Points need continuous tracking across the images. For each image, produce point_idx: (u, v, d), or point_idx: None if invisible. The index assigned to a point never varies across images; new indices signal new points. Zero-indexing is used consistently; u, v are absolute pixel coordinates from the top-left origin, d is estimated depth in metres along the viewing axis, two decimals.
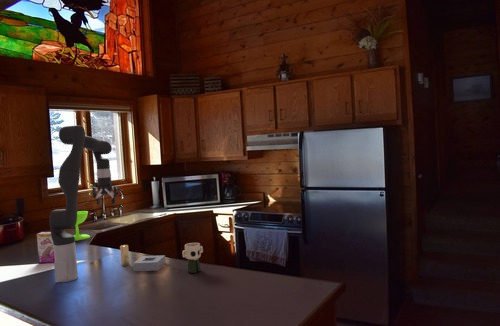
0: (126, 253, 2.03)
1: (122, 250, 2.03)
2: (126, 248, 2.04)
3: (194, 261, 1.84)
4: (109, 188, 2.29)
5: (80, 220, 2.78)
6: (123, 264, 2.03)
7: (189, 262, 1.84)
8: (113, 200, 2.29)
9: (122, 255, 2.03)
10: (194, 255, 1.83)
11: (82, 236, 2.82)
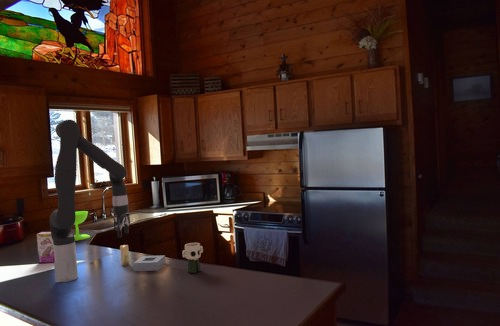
0: (126, 253, 2.03)
1: (122, 250, 2.03)
2: (126, 248, 2.04)
3: (194, 261, 1.84)
4: None
5: (80, 220, 2.78)
6: (123, 264, 2.03)
7: (189, 262, 1.84)
8: None
9: (122, 255, 2.03)
10: (194, 255, 1.83)
11: (82, 236, 2.82)
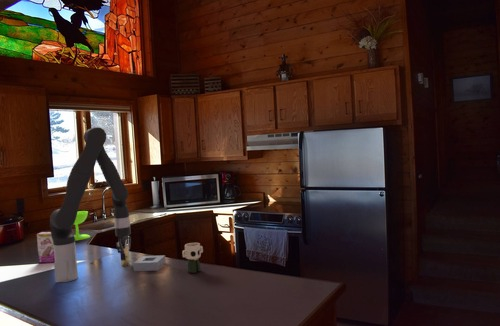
0: (126, 253, 2.03)
1: None
2: (126, 248, 2.04)
3: (194, 261, 1.84)
4: None
5: (80, 220, 2.78)
6: (123, 264, 2.03)
7: (189, 262, 1.84)
8: None
9: None
10: (194, 255, 1.83)
11: (82, 236, 2.82)
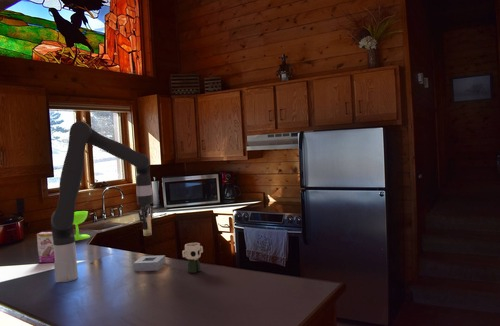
0: (148, 222, 1.96)
1: None
2: (148, 217, 1.96)
3: (194, 261, 1.84)
4: None
5: (80, 220, 2.78)
6: (145, 234, 1.96)
7: (189, 262, 1.84)
8: None
9: None
10: (194, 255, 1.83)
11: (82, 236, 2.82)
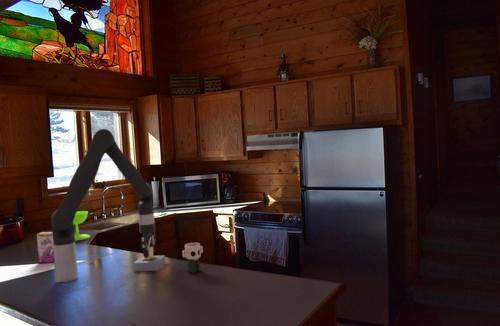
0: (151, 255, 1.97)
1: None
2: (151, 249, 1.97)
3: (194, 261, 1.84)
4: None
5: (80, 220, 2.78)
6: None
7: (189, 262, 1.84)
8: None
9: None
10: (194, 255, 1.83)
11: (82, 236, 2.82)
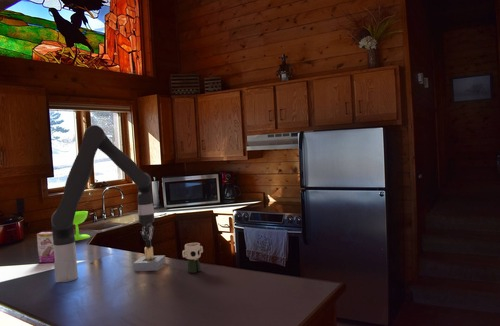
0: (151, 255, 1.97)
1: (147, 252, 1.96)
2: (151, 250, 1.97)
3: (194, 261, 1.84)
4: (151, 228, 2.01)
5: (80, 220, 2.78)
6: None
7: (189, 262, 1.84)
8: None
9: (147, 257, 1.96)
10: (194, 255, 1.83)
11: (82, 236, 2.82)
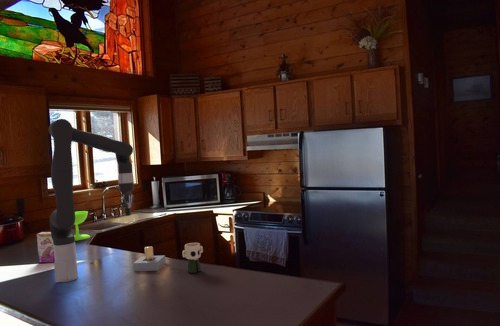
0: (151, 255, 1.97)
1: (147, 252, 1.96)
2: (151, 250, 1.97)
3: (194, 261, 1.84)
4: (131, 197, 2.08)
5: (80, 220, 2.78)
6: None
7: (189, 262, 1.84)
8: None
9: (147, 257, 1.96)
10: (194, 255, 1.83)
11: (82, 236, 2.82)
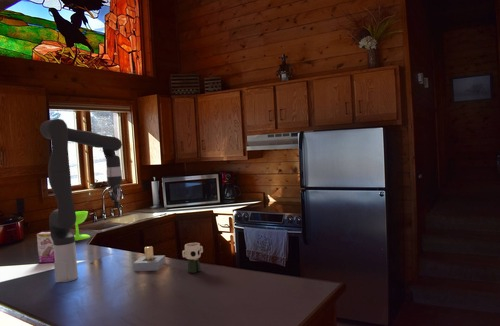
0: (151, 255, 1.97)
1: (147, 252, 1.96)
2: (151, 250, 1.97)
3: (194, 261, 1.84)
4: (119, 190, 2.13)
5: (80, 220, 2.78)
6: None
7: (189, 262, 1.84)
8: None
9: (147, 257, 1.96)
10: (194, 255, 1.83)
11: (82, 236, 2.82)
